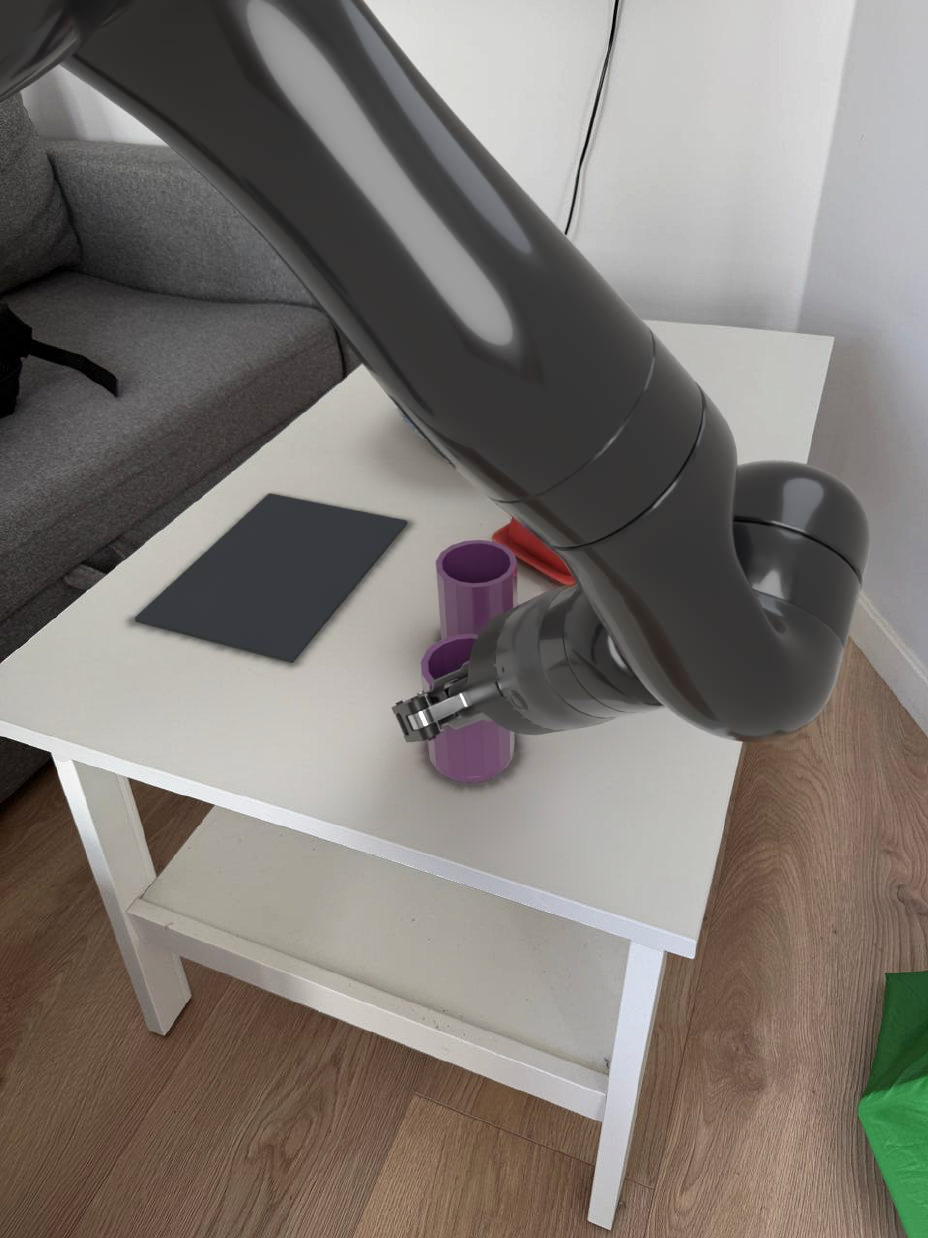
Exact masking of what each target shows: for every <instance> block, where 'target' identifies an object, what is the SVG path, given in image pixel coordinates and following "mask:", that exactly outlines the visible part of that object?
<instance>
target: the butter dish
mask: <svg viewBox="0 0 928 1238" xmlns="http://www.w3.org/2000/svg"><path fill="white" fill-rule="evenodd" d="M491 540H492V542H496V543H499V544H501V545H503V546H506V547H508V548H509V549H510V550H511V551H512V552H513V553H514V554H515V557H517V558H519V559H520V560H521V561H523V562H525V563H527V564H528V565H530V566H531V567H533V568H534V569H536V570H538V571H540V572H541V573H543V574H544V575H546V576H548V577H549V578H551V579H552V580H554V581H555V582H558V583H561V584H563V585H569V584H574V583H576V582H575V580H574V578H573V576H572V575H571V573H570V571H569V569H568V568H567V566H566V565H565V563H564V562H563V560H562V559H561V558H560V557H559V556H558V555H557V554H556V553H554V552H553V551H552V550H551V549H549V548H548V547H547V546H546V545H544V544H543V543H542V542H541V541H540V540H539V539H538V538H536V537H535V536H534V535H533V534H532V533H530V532H529V531H528V530H527V529H526V528H524V527H523V526H522V525H521V524H520V523H518V522H517V521H516V520H515V519H514V518H512V517H511V518H510V522H509V523H507V524H505V525H504V526H502V527H501V528H499V529H498V530H496V531H495V532H493V534H492V535H491Z"/></svg>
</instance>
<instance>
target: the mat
mask: <svg viewBox="0 0 928 1238" xmlns="http://www.w3.org/2000/svg"><path fill="white" fill-rule="evenodd" d="M407 525H408V520H406V519H401V518H396V517H391V516H386V515H382V514H376V513H371V512H365V511H361V510H355V509H350V508H347V507H341V506H335V505H331V504H326V503H320V502H315V501H311V500H305V499H300V498H295V497H291V496H286V495H280V494H275V493H270V492H269V493H267V494H266V496H264V497H263V498H262V499H261V500H260V501H259V502H258V503H257V504H256V505H254V506H253V507H252V508H251V509H250V510H249V511H248V512H247V513H246V514H245V515H244V516H243V517H241V519H240V520H239V521H237V522H236V523H235V524H234V525H233V526H232V527H231V528H230V529H228V530H227V532H226V533H224V534H223V535H222V536H221V537H220V538H219V539H218V540H216V542H215V543H213V545H212V546H210V548H208V549H207V550H206V551H205V552H204V553H203V554H201V556H200V557H198V558H197V560H195V561H194V562H193V563H192V564H191V565H189V567H187V568H186V569H185V570H184V571H183V572H182V573H181V574H180V575H178V576H177V578H176V579H174V581H172V582H171V583H170V584H169V585H168V586H167V587H166V588H165V589H163V590H162V592H160V594H159V595H158V596H156V597H155V598H154V599H153V600H152V601H150V603H148V605H147V606H145V607H144V608H143V609H142V610H141V611H140V612H139V613H138V614H137V615H136V616H135V617H134V620H135V622H139V623H142V624H146V625H150V626H154V627H157V628H161V629H164V630H168V631H172V632H176V633H180V634H183V635H187V636H191V637H195V638H198V639H201V640H206V641H209V642H214V643H218V644H221V645H225V646H229V647H233V648H236V649H240V650H243V651H248V652H250V653H254V654H258V655H262V656H266V657H270V658H274V659H277V660H280V661H281V660H282V661H285V662H288V663H294V662H295V661H296V659H297V658H298V657H299V656H300V655H301V653H302V652H303V651H304V650H305V648H306V647H307V646H308V645H309V644H310V642H311V641H312V640H313V638H314V637H315V636H316V635H317V634H318V632H319V631H320V630H321V629H322V628H323V627H324V625H325V624H326V623H327V622H328V621H329V619H330V618H331V617H332V616H333V615H334V613H335V612H336V611H337V609H339V607H340V606H341V605H342V604H343V602H345V600H346V598H348V596H349V595H350V594H351V593H352V592H353V590H354V589H355V588H356V587H357V585H358V584H359V583H361V580H362V579H363V578H364V576H366V575H367V573H368V572H369V571H370V569H371V568H372V567H373V566H374V565H375V564H376V562H377V561H379V559H380V558H381V557H382V555H383V554H384V552H386V550H387V549H388V548H389V546H391V544H392V543H393V542H394V540H396V538H397V537H398V536H399V535H400V533H401V532H402V531H403V530H404V529H405V527H406V526H407Z"/></svg>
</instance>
